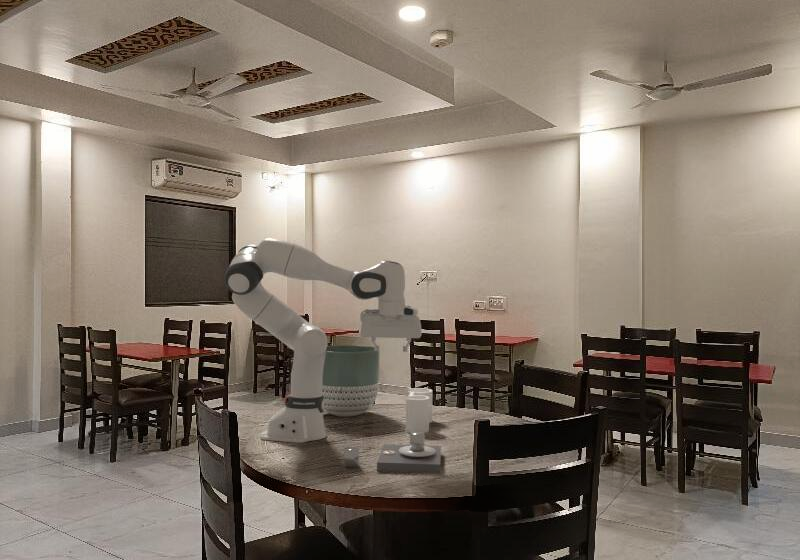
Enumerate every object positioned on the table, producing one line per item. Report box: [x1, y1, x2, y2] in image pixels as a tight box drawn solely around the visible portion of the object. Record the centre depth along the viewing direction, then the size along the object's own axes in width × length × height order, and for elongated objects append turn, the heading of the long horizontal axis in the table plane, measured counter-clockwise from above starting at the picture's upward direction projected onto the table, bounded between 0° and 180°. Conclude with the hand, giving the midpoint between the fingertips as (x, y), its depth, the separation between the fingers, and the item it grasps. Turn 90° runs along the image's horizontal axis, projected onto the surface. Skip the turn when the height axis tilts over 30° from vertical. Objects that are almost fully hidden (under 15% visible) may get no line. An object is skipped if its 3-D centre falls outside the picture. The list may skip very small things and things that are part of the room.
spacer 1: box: [343, 446, 360, 469], centre depth 183 cm, size 4×4×5 cm
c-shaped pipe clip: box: [405, 387, 433, 434], centre depth 237 cm, size 25×10×12 cm, turn 175°
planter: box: [323, 344, 380, 418], centre depth 254 cm, size 27×27×27 cm
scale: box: [376, 443, 442, 474], centre depth 188 cm, size 18×20×4 cm
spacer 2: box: [409, 432, 426, 452], centre depth 188 cm, size 4×4×5 cm
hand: (391, 351), depth 207 cm, fingers open, 8 cm apart
